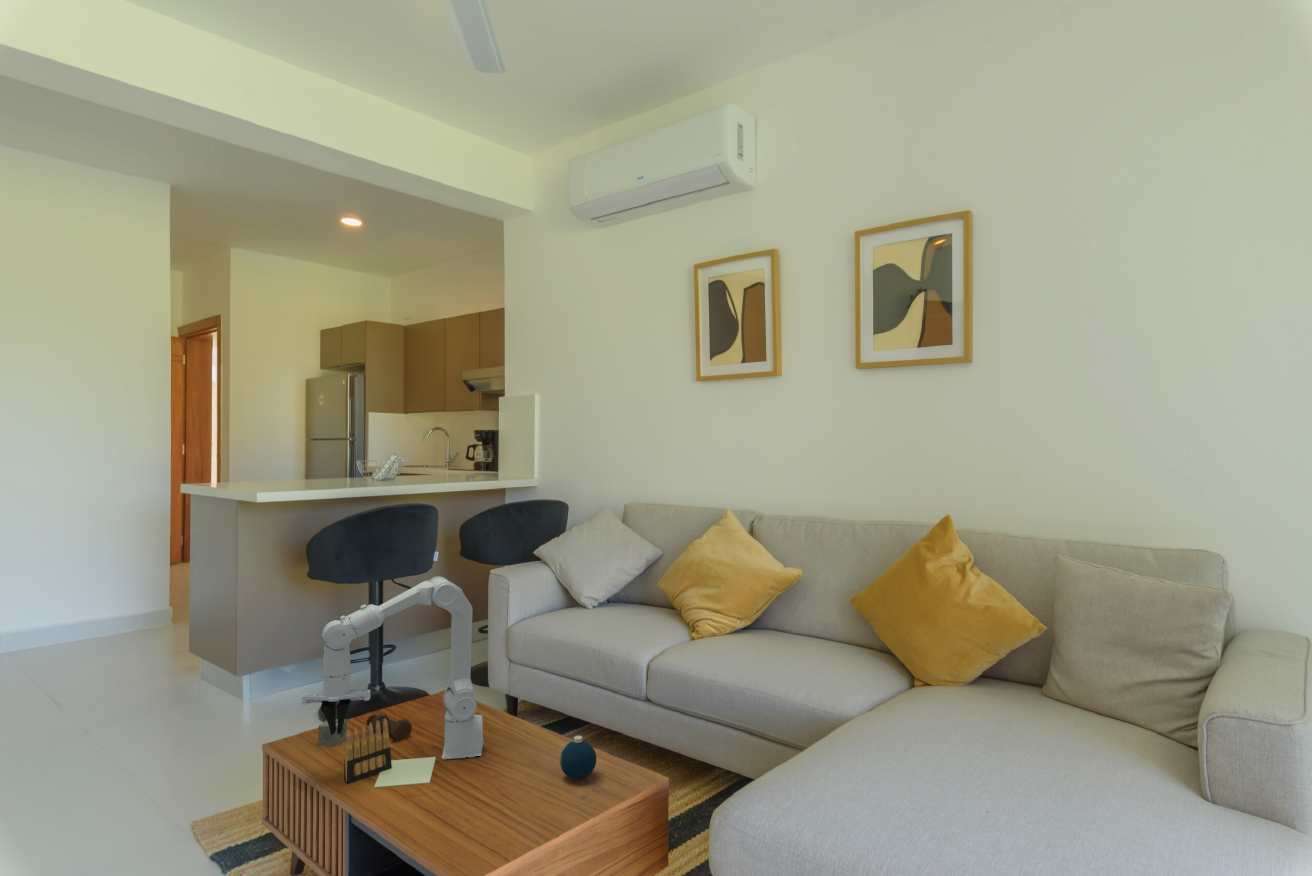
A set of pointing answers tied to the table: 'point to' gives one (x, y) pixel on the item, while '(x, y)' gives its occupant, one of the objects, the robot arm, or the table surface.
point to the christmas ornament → (578, 759)
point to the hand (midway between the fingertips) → (336, 732)
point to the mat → (407, 772)
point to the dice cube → (326, 737)
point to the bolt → (392, 726)
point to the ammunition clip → (367, 753)
